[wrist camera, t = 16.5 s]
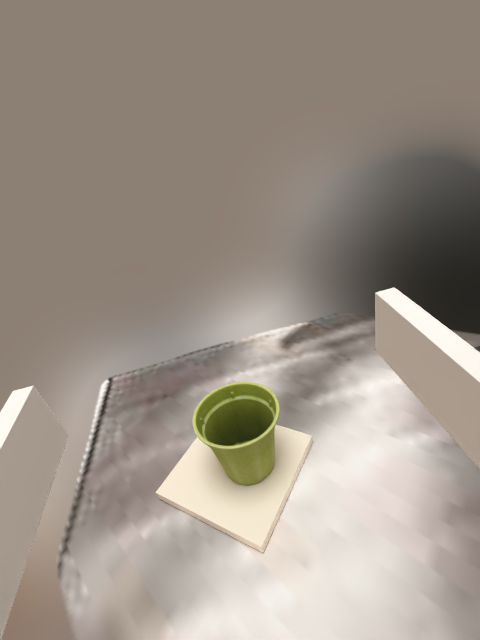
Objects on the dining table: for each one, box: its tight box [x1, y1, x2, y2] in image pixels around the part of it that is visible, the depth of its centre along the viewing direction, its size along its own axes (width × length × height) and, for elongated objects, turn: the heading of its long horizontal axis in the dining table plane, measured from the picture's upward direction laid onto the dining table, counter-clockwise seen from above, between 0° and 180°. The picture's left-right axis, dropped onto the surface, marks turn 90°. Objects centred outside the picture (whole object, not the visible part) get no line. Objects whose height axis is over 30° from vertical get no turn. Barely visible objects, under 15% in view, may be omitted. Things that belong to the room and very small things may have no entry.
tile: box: [156, 425, 313, 553], centre depth 42 cm, size 14×14×1 cm
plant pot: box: [193, 382, 279, 485], centre depth 39 cm, size 9×9×9 cm
